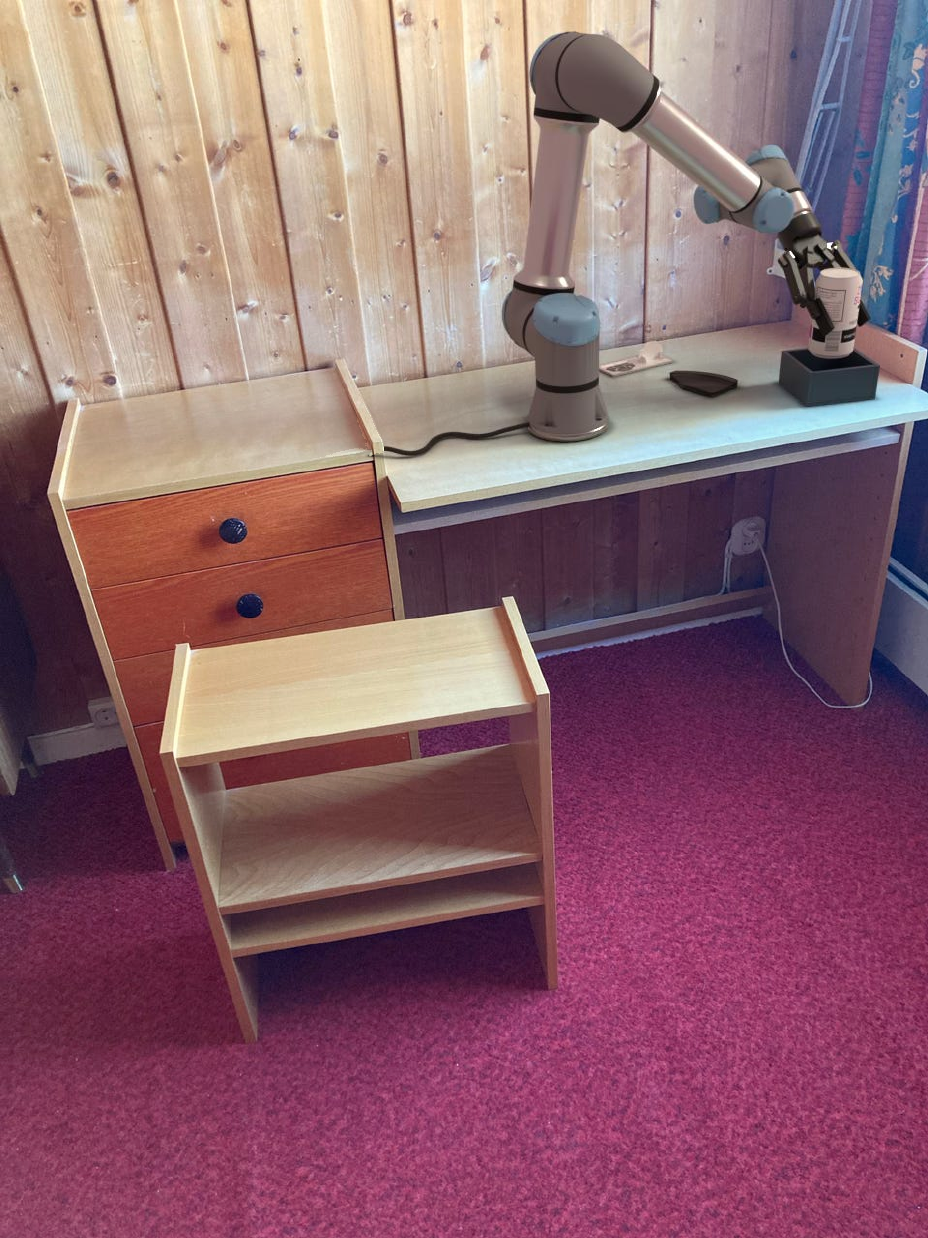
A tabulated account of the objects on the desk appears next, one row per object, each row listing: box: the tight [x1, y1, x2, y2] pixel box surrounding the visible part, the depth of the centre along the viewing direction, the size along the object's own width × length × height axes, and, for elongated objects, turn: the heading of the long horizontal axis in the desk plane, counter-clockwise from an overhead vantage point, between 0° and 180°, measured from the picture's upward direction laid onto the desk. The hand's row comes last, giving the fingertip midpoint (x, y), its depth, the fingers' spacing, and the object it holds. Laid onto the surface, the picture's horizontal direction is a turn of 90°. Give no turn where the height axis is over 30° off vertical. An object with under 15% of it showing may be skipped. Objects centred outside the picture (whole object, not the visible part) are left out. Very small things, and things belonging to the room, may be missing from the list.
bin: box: [778, 347, 881, 408], centre depth 202 cm, size 14×14×7 cm
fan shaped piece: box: [668, 370, 739, 398], centre depth 210 cm, size 8×14×2 cm, turn 36°
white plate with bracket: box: [599, 340, 673, 378], centre depth 222 cm, size 15×7×4 cm, turn 117°
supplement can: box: [807, 268, 864, 358], centre depth 196 cm, size 8×8×15 cm
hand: (847, 327), depth 194 cm, fingers closed on supplement can, 8 cm apart
